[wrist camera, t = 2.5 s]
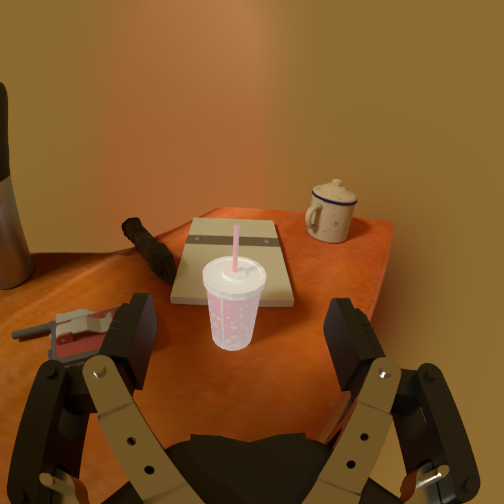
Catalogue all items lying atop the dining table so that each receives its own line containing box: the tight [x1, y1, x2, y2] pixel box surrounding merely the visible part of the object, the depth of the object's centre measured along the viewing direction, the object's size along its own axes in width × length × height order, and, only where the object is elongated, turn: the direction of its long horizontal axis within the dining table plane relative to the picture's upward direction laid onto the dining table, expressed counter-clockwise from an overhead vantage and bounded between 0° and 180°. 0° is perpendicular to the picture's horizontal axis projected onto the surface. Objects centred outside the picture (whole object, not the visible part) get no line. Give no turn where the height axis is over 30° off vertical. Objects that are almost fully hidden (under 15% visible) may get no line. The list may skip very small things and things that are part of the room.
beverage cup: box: [203, 224, 267, 351], centre depth 27 cm, size 6×6×14 cm
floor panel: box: [170, 218, 294, 307], centre depth 45 cm, size 16×24×2 cm, turn 3°
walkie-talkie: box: [11, 307, 119, 368], centre depth 25 cm, size 9×4×20 cm
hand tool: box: [122, 217, 176, 285], centre depth 42 cm, size 19×4×5 cm, turn 38°
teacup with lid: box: [305, 179, 357, 243], centre depth 51 cm, size 12×9×12 cm
